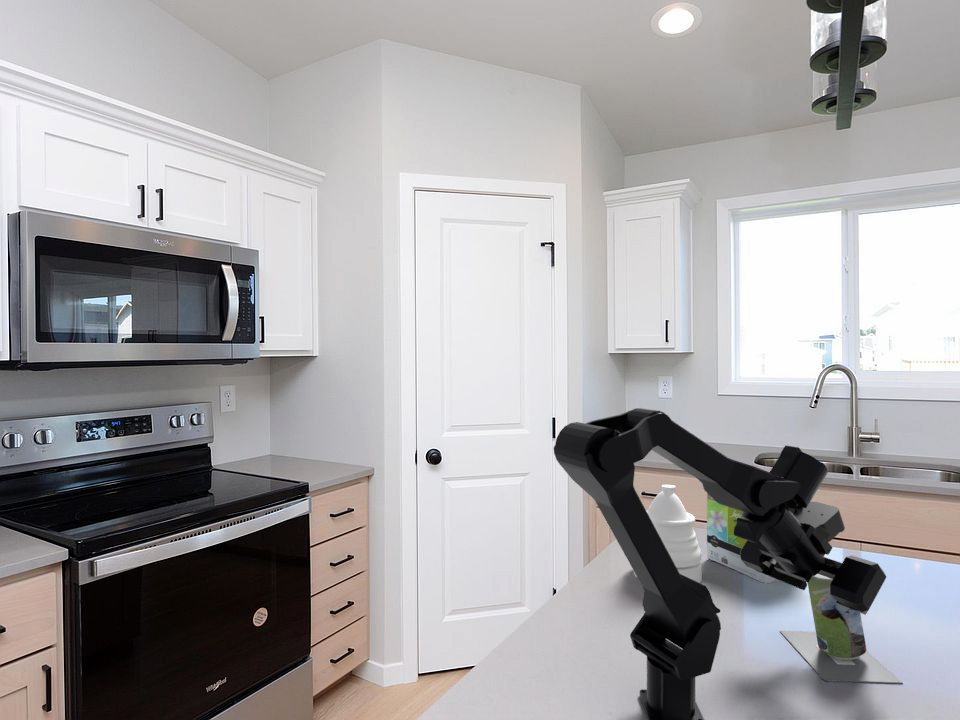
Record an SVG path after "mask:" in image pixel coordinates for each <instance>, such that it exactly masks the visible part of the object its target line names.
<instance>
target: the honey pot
mask: <svg viewBox="0 0 960 720" xmlns="http://www.w3.org/2000/svg"><path fill="white" fill-rule="evenodd" d="M661 490H662V491H660V492H659V493H657V495H656V496H655V497H654V499H653V500H652V501H651V503H650V505H649V507H648V509H646V511H647V513H648V515H649V517H650V519H651V521H652V523H653V524H654V526H655V528H656V530H657V532H658V534H659V536H660V538H661V540H662V541H663V543H664V545H665V547H666V549H667V551H668V553H669V555H670V557H671V558H672V560H673V562H674V564H675V566H676V568H677V570H678V572H679V573H680V574H681V575H684V576H686V577H688V578H690V579H692V580H694V581H696V582H699V583H701V582H702V579H703V577H702V575H703V574H702V573H703V572H702V571H703V564H702V563H703V562H702V561H703V559H702V555H703V554H702V549H701V547H700V546H699V541H698V539H697V534H696V533H697V532H695V530H694V528H693V525H694V524H695V522H696V517H695V516H694V515H693V514H692V513H689V512H688V511H687V510H686V508H685V506H684V504H683V503H682V500H681V499H680V498H679V496H678V495H677V494H676V493H675V492H676V485H674V484H673V485H672V484H662V485H661ZM632 571H633V575H634V576H635V577H636V578H637V579H638V577H637V575H636V574H635V572H634V570H633V569H632Z"/></svg>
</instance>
